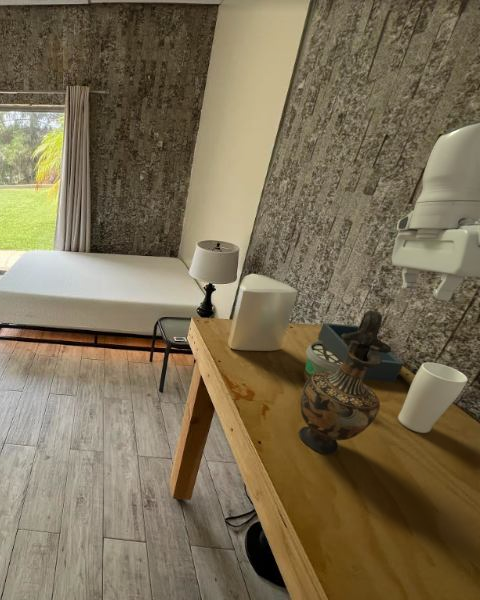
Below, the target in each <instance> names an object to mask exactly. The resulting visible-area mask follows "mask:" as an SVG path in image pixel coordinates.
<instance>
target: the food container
mask: <svg viewBox="0 0 480 600" xmlns="http://www.w3.org/2000/svg"><path fill="white" fill-rule="evenodd" d="M322 342H323V341H319V340H316V341H313V342H312V343H311V344H309V346H308V347H307V349H306V350H305V355H306V357H307V358H306V362H305V366H304V371H303V375H302V380H303V382H304V384H305V383H306V381H307V380H308V378H309V377H310V376H311V375H312V374H314V373H316V372H320V371H332V372H337V371H338V370H339V369H340V367H341V366H342V364H343V362H342V361H341V360H340V358H339V357H338V356H337V355H336V354H334V353H333V352H331V351H330V350H328V349H327V348H326V347H324V346H323V345H322Z"/></svg>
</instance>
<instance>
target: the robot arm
mask: <svg viewBox="0 0 480 600" xmlns="http://www.w3.org/2000/svg"><path fill="white" fill-rule="evenodd" d="M421 181H422V190H421V192H420V195H419V196H418V198H417V200H416V201H415V205H414V209H413V210H412V211H410V212H409V213H408V214H407V215H406V216H404V217H401V218H400V219H399V220H398V221H397V224H396V230H397V231H399V232H398V233H397V235H396V237H395V241H394V244H393V249H392V254H391V262H392V266H394V267H398V268H399V267H400V268H402V272H401V277H402V286H401V290H402V291H404V292H410V293H411V292H413V293H415V292H417V291H418V287H419V285H420V283H418V275H419V274H420V272H421V271H425V272H431V273H437V274H441V276H440V280H441V282H440V283H439V285H438V287H437V288H433V290H432V294H431V298H433V299H435V300H438V301H451V298H452V296H453V293H454V291H455V290H456V289H457V288H458V287H459V286H460V285H461V284H462V283H463V281H464V277H467V278H469V277H470V278H480V120H477V121H474V122H469V123H465V124H463V125H459V126H457V127H454V128H451V129H449V130H447V131H446V132H445V133H443V134H441V135H440V136H439V137H438V139H437V140H436V142H435V144H434V145H433V148H432V150H431V152H430V155H429V157H428V160H427V163H426V165H425V168H424V172H423V176H422V180H421Z"/></svg>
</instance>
